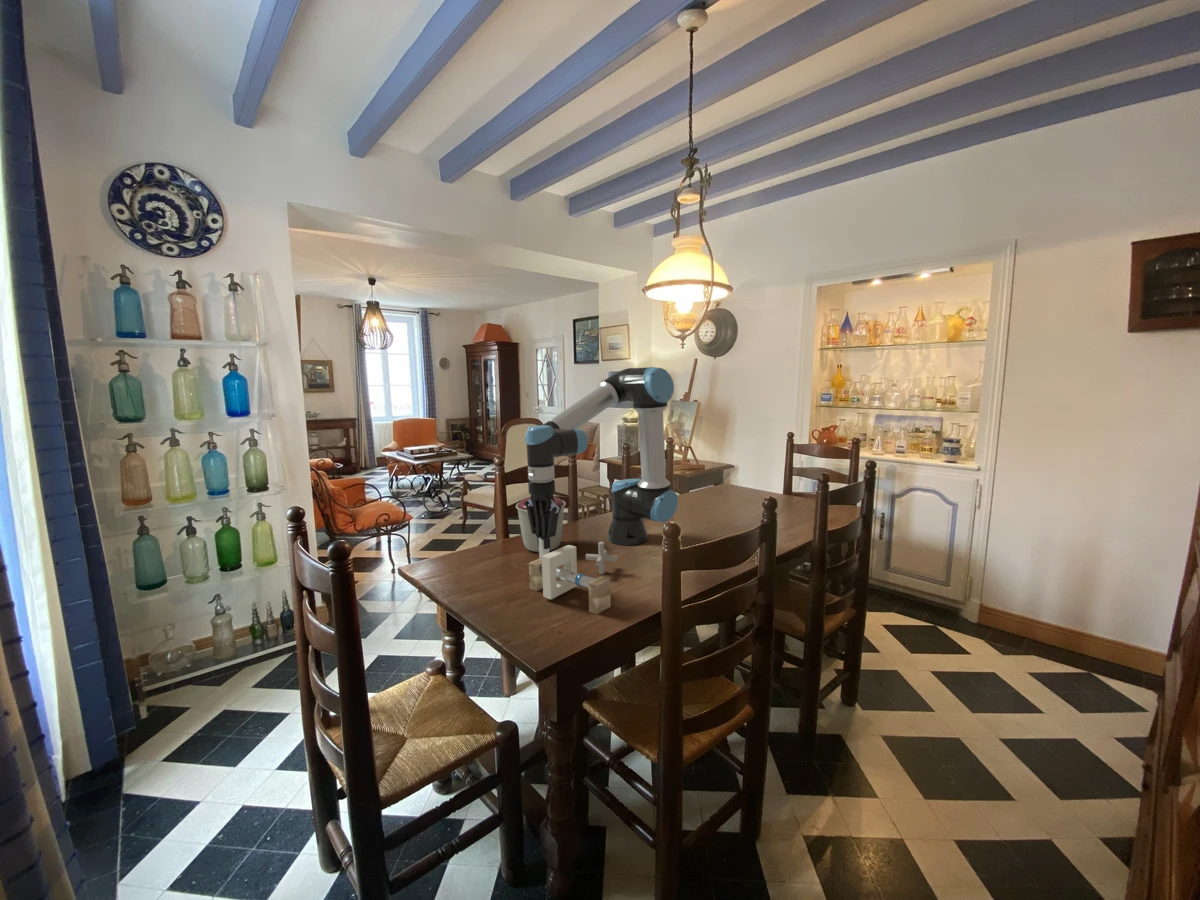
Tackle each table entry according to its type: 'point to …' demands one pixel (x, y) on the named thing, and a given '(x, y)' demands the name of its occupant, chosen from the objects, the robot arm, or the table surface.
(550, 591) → the collar
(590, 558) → the pipe connector
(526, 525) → the canister
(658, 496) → the robot arm
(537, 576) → the rod support stand
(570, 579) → the steel rod
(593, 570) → the table surface
